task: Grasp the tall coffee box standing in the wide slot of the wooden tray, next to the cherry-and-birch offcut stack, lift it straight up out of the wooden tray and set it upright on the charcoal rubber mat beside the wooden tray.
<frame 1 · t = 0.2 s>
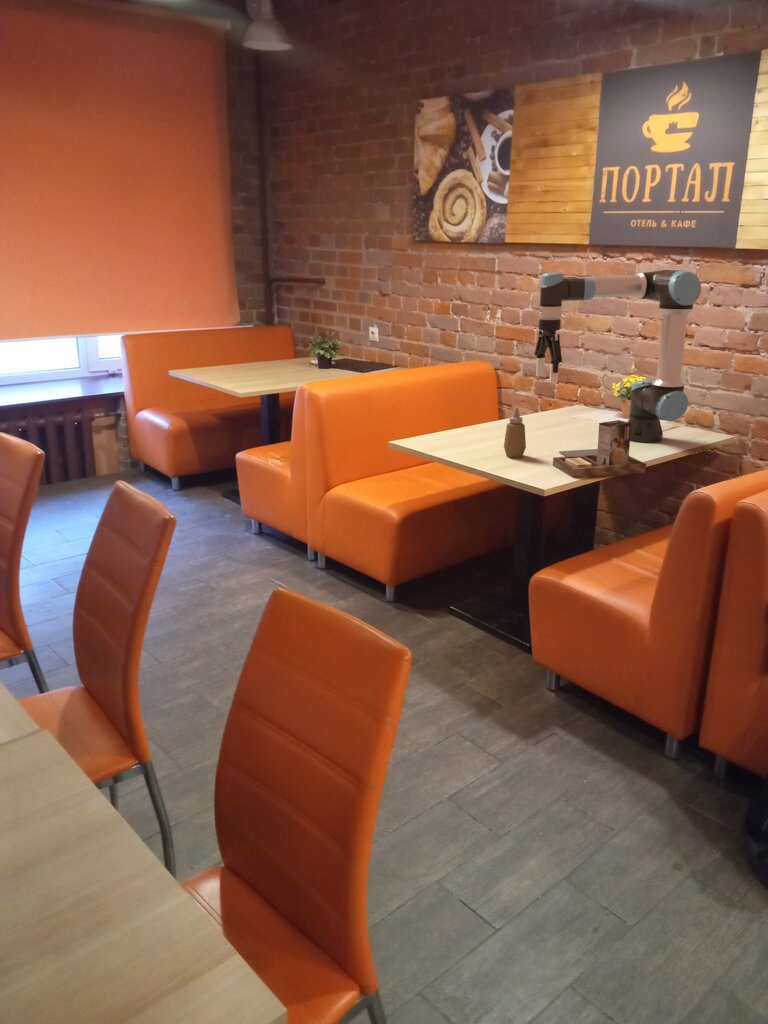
hand: (546, 379, 296), 28 cm above the table, tool pointing down, fingers open, 13 cm apart
squeeze bottle: (514, 456, 302), on the table
coffee box: (611, 468, 285), resting in wooden tray
offcut stack: (578, 471, 283), resting in wooden tray
mat: (589, 455, 302), on the table
wooden tray: (598, 468, 284), on the table
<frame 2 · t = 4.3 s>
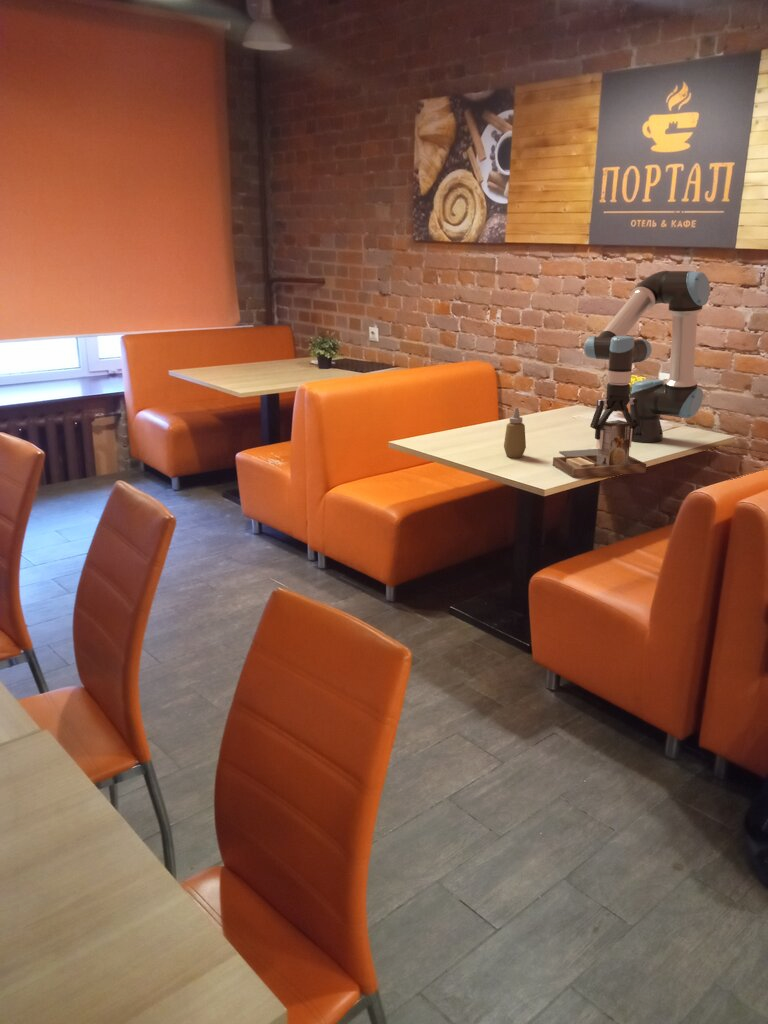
hand: (613, 447, 283), 7 cm above the table, tool pointing down, fingers closed on coffee box, 10 cm apart
coffee box: (611, 468, 285), resting in wooden tray, touching gripper
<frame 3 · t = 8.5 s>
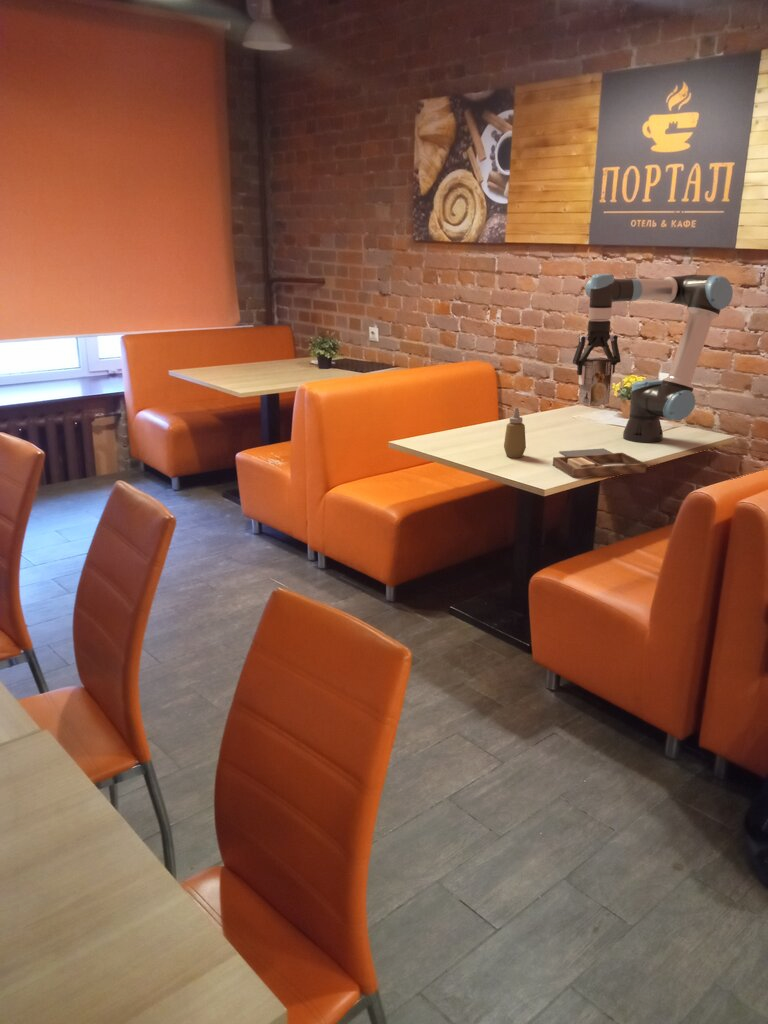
hand: (595, 383, 294), 27 cm above the table, tool pointing down, fingers closed on coffee box, 10 cm apart
coffee box: (593, 404, 296), point 19 cm above the table, touching gripper
when the fingers open (9 cm above the table, at t = 12.7 s): coffee box drops 1 cm, resting on mat.
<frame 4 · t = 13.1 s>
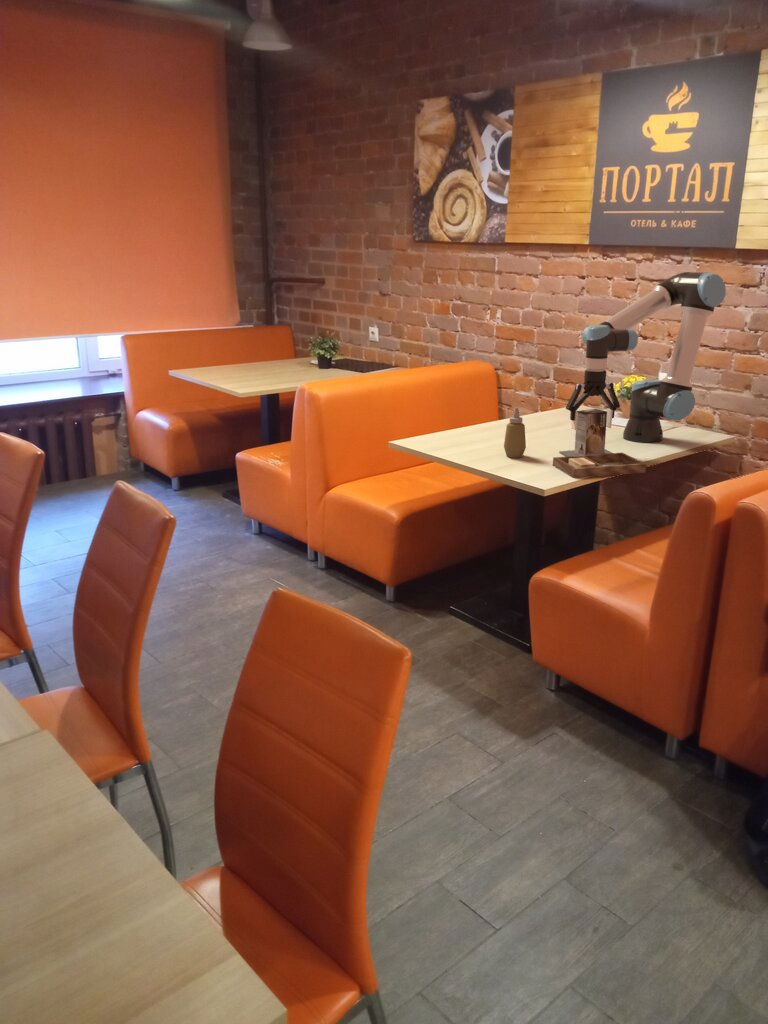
hand: (591, 428, 299), 10 cm above the table, tool pointing down, fingers open, 13 cm apart
coffee box: (589, 454, 302), resting on mat
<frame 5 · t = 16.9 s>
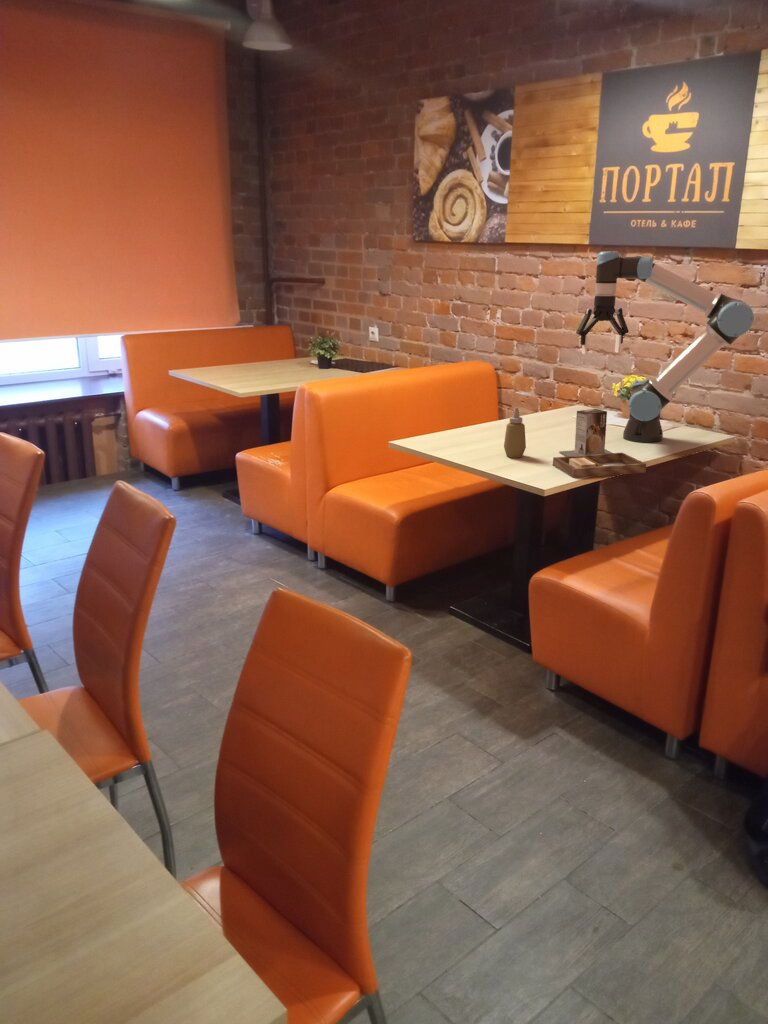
hand: (600, 353, 310), 35 cm above the table, tool pointing down, fingers open, 13 cm apart
at the end: coffee box inside the target area on the mat (0.2 cm from its centre), point 0.4 cm above the mat's base; coffee box tilted 0°; offcut stack moved 1.6 cm from its start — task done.
